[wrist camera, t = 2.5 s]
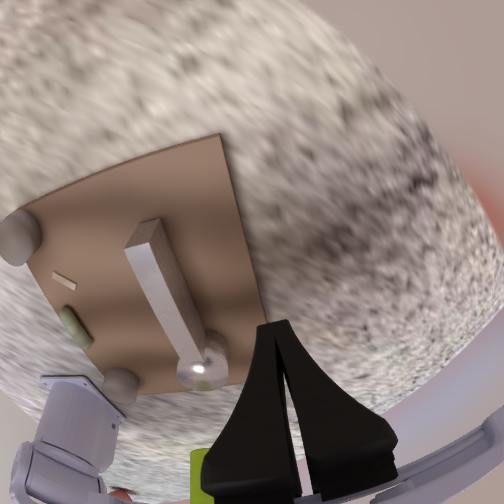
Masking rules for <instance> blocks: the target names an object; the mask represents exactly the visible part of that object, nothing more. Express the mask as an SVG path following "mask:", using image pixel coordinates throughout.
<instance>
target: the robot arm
mask: <svg viewBox="0 0 504 504" xmlns="http://www.w3.org/2000/svg"><path fill="white" fill-rule="evenodd" d="M283 373H284V375H283ZM284 376H285V379H286V382H287V385H288V388H289V392H290V395H291V398H292V401H293V404H294V407H295V410H296V414H297V418H298V422H299V427H300V432H301V436H302V441H303V446H304V451H305V456H306V460H307V465H308V470H309V475H310V480H311V485H312V490H313V495H309V496H304V497H302V495H301V494H302V493H303V492H302V487H301V482H300V477H299V472H298V467H297V463H296V458H295V453H294V448H293V442H292V437H291V432H290V427H289V422H288V415H287V406H286V396H285V385H284ZM40 381H41V382H42V383H43V384H44V385H45V386H46V387H47V388H48V390H49V391H50V394H49V396H48V399H47V402H46V405H45V408H44V410H43V413H42V416H41V419H40V422H39V426H38V429H37V432H36V435H35V439H34V442H32V443H30V442H28V441H26V442H24V443H21V444H20V446H19V448H18V451H17V454H16V457H15V460H14V464H13V468H12V473H11V485H10V490H9V493H10V495H11V499H12V501H13V503H14V504H38V503H36V502H34V501H33V500H32V499H30V497H29V496H28V495H30V496H32V497H34V498H36V499H38V500H40V501H42V502H44V503H47V504H147V503H139V502H131V501H125V500H121V499H119V498H117V497H115V496H111V495H108V494H107V488H106V485H105V483H104V481H103V479H102V478H101V477H100V476H98V474H99V473H102V472H104V471H106V470H107V469H108V468H109V467H110V465H111V464H112V462H113V459H114V454H115V448H116V442H117V436H118V430H119V425H120V422H125V421H126V418H125V417H124V416H123V415H122V414H121V413H120V412H119V411H118V410H117V409H115V408H114V407H113V406H112V405H111V404H110V403H109V402H108V401H107V400H106V399H105V398H104V397H103V395H102V394H101V393H100V392H99V391H98V390H97V389H96V388H95V387H94V386H93V385H92V384H91V383H90V382H89V380H88V379H87V378H85V377H83V376H79V377H40ZM397 442H398V439H397V436H396V434H395V433H394V431H393V429H392V428H391V426H390V425H389V424H388V422H387V421H386V420H385V419H384V418H382V417H380V416H379V415H377V414H375V413H374V412H372V411H371V410H369V409H368V408H366V407H365V406H363V405H362V404H360V403H359V402H358V401H356V400H355V399H354V398H352V397H351V396H350V395H349V394H347V393H346V392H345V391H344V390H342V389H341V388H340V387H339V386H338V385H337V384H336V383H335V382H334V381H333V380H332V379H331V378H330V377H329V376H328V375H327V374H326V373H325V372H324V371H323V370H322V369H321V368H320V367H319V366H318V365H317V363H316V362H315V361H314V360H313V359H312V357H311V356H310V355H309V353H308V352H307V351H306V349H305V348H304V347H303V345H302V344H301V342H300V341H299V339H298V338H297V336H296V335H295V333H294V331H293V329H292V327H291V325H290V323H289V321H288V320H286V319H285V320H280V321H276V322H272V323H267V324H262V325H258V326H257V328H256V341H255V347H254V353H253V357H252V362H251V366H250V369H249V372H248V376H247V379H246V382H245V385H244V388H243V390H242V393H241V395H240V398H239V400H238V402H237V404H236V407H235V409H234V411H233V413H232V415H231V417H230V419H229V420H228V422H227V424H226V425H225V427H224V429H223V430H222V432H221V434H220V435H219V437H218V438H217V440H216V441H215V443H214V444H213V445H212V447H211V448H210V449H209V451H208V452H207V453H206V455H205V456H204V458H203V462H202V467H201V473H200V488H201V490H202V491H203V492H204V493H206V494H208V495H210V496H212V497H214V504H341V503H344V502H348V501H351V500H355V499H358V498H361V497H364V496H367V495H370V494H373V493H376V492H379V491H381V490H384V489H387V488H389V487H392V486H394V485H397V484H399V483H401V484H399V485H397V486H395V487H393V488H391V489H388V490H386V491H384V492H382V493H379V494H377V495H376V496H375V497H376V498H374V499H372V500H371V501H370V504H442V503H444V502H446V501H447V500H449V499H451V498H453V497H454V496H456V495H458V494H459V493H461V492H462V491H464V490H466V489H467V488H469V487H470V486H472V485H474V484H475V483H476V482H478V481H479V480H481V479H482V478H484V477H485V476H487V475H488V474H489V473H491V472H492V471H493V470H495V469H496V468H497V467H499V466H500V465H501V464H502V463H504V406H502V407H501V408H499V409H498V410H497V411H495V412H494V413H492V414H491V415H490V416H489V417H487V419H485V421H484V422H483V423H482V425H480V426H478V427H477V428H475V429H474V430H472V431H470V432H469V433H467V434H466V435H464V436H462V437H460V438H459V439H457V440H455V441H453V442H452V443H450V444H448V445H446V446H444V447H442V448H440V449H439V450H437V451H435V452H433V453H431V454H429V455H427V456H424V457H422V458H420V459H418V460H416V461H414V462H411V463H409V464H407V465H404V466H402V467H400V468H397V469H396V467H395V464H394V460H395V458H394V455H393V452H392V451H393V449H394V448H395V446H396V445H397ZM404 481H405V482H404ZM402 482H404V483H402ZM27 494H28V495H27Z"/></svg>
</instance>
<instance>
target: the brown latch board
mask: <svg viewBox="0 0 504 504" xmlns="http://www.w3.org/2000/svg"><path fill="white" fill-rule="evenodd" d="M158 218H161V221H162V224H163V226H164V229H165V232H166V235H167V237H168V240H169V243H170V245H171V248H172V250H173V253H174V256H175V258H176V261H177V263H178V266H179V268H180V271H181V273H182V276H183V278H184V281H185V283H186V286H187V288H188V290H189V293H190V295H191V297H192V300H193V302H194V305H195V307H196V309H197V312H198V314H199V316H200V318H201V321H202V323H203V325H204V327H205V330H210V331H214V332H216V333H218V334H220V335H221V336H222V337H223V338H224V339H225V340H226V342H227V352H228V376H229V378H228V382H227V383H226V384H225V385H224V386H228V385H234V384H240V383H245V382H246V379H247V376H248V372H249V369H250V366H251V362H252V357H253V353H254V347H255V341H256V328H257V326H258V325H262V324H267V321H266V317H265V313H264V309H263V305H262V301H261V297H260V293H259V289H258V285H257V281H256V277H255V273H254V269H253V265H252V261H251V257H250V253H249V249H248V245H247V241H246V237H245V233H244V229H243V225H242V221H241V217H240V213H239V209H238V205H237V201H236V197H235V193H234V189H233V185H232V181H231V177H230V173H229V169H228V165H227V161H226V157H225V153H224V149H223V145H222V141H221V137H220V133H219V134H215V135H211V136H207V137H203V138H200V139H196V140H192V141H189V142H185V143H182V144H178V145H175V146H171V147H168V148H165V149H162V150H159V151H155V152H152V153H149V154H146V155H143V156H140V157H137V158H134V159H132V160H129V161H126V162H123V163H120V164H118V165H115V166H112V167H110V168H107V169H104V170H102V171H99V172H97V173H94V174H92V175H89V176H87V177H85V178H82V179H80V180H77V181H75V182H73V183H71V184H68V185H66V186H64V187H62V188H59V189H57V190H55V191H53V192H51V193H49V194H47V195H44V196H42V197H40V198H38V199H36V200H34V201H32V202H30V203H28V204H26V205H24V206H22V207H21V208H19V209H17V210H15V211H14V212H13V213H11V214H10V215H9V216H7V217H6V218H5V219H4V220H3V221H2V222H1V223H0V255H1V256H2V258H3V259H4V260H5V261H6V262H7V263H9V264H11V265H13V266H21V265H23V264H24V263H25V262H26V263H27V265H28V267H29V269H30V270H31V272H32V274H33V276H34V278H35V279H36V281H37V283H38V285H39V286H40V288H41V290H42V291H43V293H44V295H45V296H46V298H47V299H48V301H49V303H50V304H51V306H52V307H53V309H54V310H55V312H56V313H57V315H58V316H59V318H60V320H61V322H62V323H63V324H64V326H65V327H66V329H67V330H68V332H69V333H70V334H71V336H72V337H73V338H74V340H75V341H76V343H77V344H78V345H79V347H80V348H81V349H82V350H83V351H84V352H85V354H86V355H87V356H88V358H89V359H90V360H91V361H92V362H93V364H94V365H95V366H96V367H97V369H98V370H99V371H100V372H101V373H102V375H103V376H104V377H105V380H104V383H103V387H102V392H103V394H104V395H105V396H106V397H107V398H109V399H111V400H112V401H115V402H117V403H121V404H132V403H134V402H135V401H136V397H137V395H147V394H161V393H172V392H182V391H192V390H193V389H190V388H187V387H185V386H184V385H182V384H181V383H180V382H179V381H178V379H177V377H176V372H177V363H178V354H177V352H176V350H175V349H174V347H173V345H172V344H171V342H170V340H169V338H168V337H167V335H166V333H165V331H164V329H163V328H162V326H161V324H160V322H159V320H158V318H157V317H156V315H155V313H154V311H153V309H152V307H151V305H150V303H149V301H148V300H147V298H146V296H145V294H144V292H143V290H142V288H141V286H140V284H139V282H138V280H137V277H136V275H135V273H134V271H133V269H132V267H131V265H130V263H129V261H128V258H127V256H126V254H125V252H124V250H123V249H124V247H125V246H126V244H127V242H128V241H129V239H130V237H131V235H132V234H133V232H134V231H135V229H136V227H137V226H138V224H140V223H144V222H147V221H151V220H154V219H158Z"/></svg>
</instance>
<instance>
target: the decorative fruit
mask: <svg viewBox="0 0 504 504" xmlns="http://www.w3.org/2000/svg"><path fill="white" fill-rule="evenodd" d="M108 495H111V496H115V497H117V498H119V499H121V500H125V501H131V502H133V501H132V499H131V498H130V496H129V495H128V494H127V493H126V492H125V491H123V490H122V489H121V490H117V491H113V492H110V493H109V494H108Z"/></svg>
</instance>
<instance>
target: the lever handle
mask: <svg viewBox="0 0 504 504" xmlns="http://www.w3.org/2000/svg"><path fill="white" fill-rule="evenodd" d="M123 250H124V252H125V254H126V256H127V258H128V261H129V263H130V265H131V267H132V269H133V271H134V273H135V275H136V277H137V280H138V282H139V284H140V286H141V288H142V290H143V292H144V294H145V296H146V298H147V300H148V301H149V303H150V305H151V307H152V309H153V311H154V313H155V315H156V317H157V318H158V320H159V322H160V324H161V326H162V328H163V329H164V331H165V333H166V335H167V337H168V338H169V340H170V342H171V344H172V345H173V347H174V349H175V350H176V352H177V354H178V363H177V372H176V377H177V379H178V381H179V382H180V383H181V384H182V385H184V386H185V387H187V388H190V389H193V390H197V391H212V390H216V389H219V388H221V387H223V386H224V385H225V384H226V383H227V382H228V378H229V376H228V352H227V342H226V340H225V339H224V338H223V337H222V336H221V335H220V334H218V333H216V332H214V331H210V330H205V327H204V325H203V323H202V321H201V318H200V316H199V314H198V312H197V309H196V307H195V305H194V302H193V300H192V297H191V295H190V293H189V290H188V288H187V286H186V283H185V281H184V278H183V276H182V273H181V271H180V268H179V266H178V263H177V261H176V258H175V256H174V253H173V250H172V248H171V245H170V243H169V240H168V237H167V235H166V232H165V229H164V226H163V224H162V221H161V218H158V219H154V220H151V221H147V222H144V223H140V224H138V226H137V227H136V229H135V231H134V232H133V234H132V235H131V237H130V239H129V241H128V242H127V244H126V246H125V247H124V249H123Z"/></svg>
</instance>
